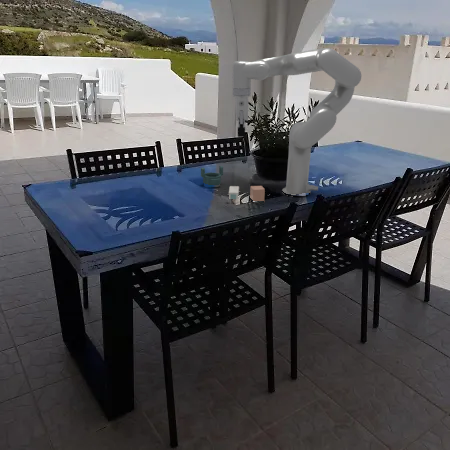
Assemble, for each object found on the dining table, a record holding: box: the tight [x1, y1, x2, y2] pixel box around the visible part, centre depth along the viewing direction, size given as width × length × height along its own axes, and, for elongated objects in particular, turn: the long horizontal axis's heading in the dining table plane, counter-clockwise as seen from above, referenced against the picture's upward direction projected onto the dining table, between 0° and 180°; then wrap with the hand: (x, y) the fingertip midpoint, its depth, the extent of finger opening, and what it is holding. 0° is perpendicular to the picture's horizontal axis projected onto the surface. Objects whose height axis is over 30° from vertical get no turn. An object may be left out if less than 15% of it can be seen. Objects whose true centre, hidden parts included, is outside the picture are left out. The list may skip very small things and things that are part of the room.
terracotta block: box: [249, 185, 266, 202], centre depth 186 cm, size 5×5×6 cm
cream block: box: [228, 185, 240, 199], centre depth 189 cm, size 4×4×9 cm
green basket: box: [200, 165, 224, 185], centre depth 206 cm, size 9×9×9 cm
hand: (241, 136), depth 189 cm, fingers closed
